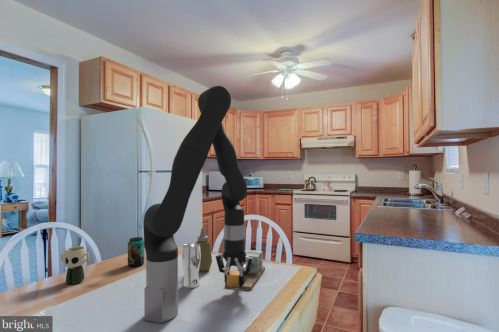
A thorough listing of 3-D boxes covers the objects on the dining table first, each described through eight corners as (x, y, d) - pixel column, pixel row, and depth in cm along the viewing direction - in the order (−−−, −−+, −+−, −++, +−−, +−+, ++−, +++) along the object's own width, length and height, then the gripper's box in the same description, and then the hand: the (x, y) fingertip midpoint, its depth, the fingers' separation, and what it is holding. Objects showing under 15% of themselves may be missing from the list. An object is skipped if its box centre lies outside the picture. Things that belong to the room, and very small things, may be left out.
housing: (250, 290, 103) (250, 268, 103) (224, 287, 106) (224, 265, 106) (265, 269, 124) (265, 251, 124) (243, 267, 127) (243, 249, 127)
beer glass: (196, 289, 104) (196, 248, 104) (178, 288, 105) (178, 247, 105) (203, 282, 111) (203, 243, 111) (186, 280, 112) (186, 242, 112)
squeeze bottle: (210, 273, 120) (210, 230, 120) (191, 273, 120) (191, 230, 120) (213, 266, 128) (213, 226, 128) (195, 266, 128) (195, 226, 128)
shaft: (238, 287, 98) (238, 275, 98) (226, 285, 100) (226, 274, 100) (255, 266, 119) (255, 256, 119) (245, 265, 121) (245, 255, 121)
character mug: (55, 285, 107) (55, 251, 107) (66, 278, 115) (66, 246, 115) (84, 285, 108) (84, 251, 108) (94, 278, 115) (94, 245, 115)
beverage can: (124, 266, 128) (124, 240, 128) (134, 261, 135) (134, 236, 135) (137, 268, 126) (137, 241, 126) (147, 263, 133) (147, 237, 133)
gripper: (211, 238, 99) (211, 287, 99) (250, 240, 95) (251, 292, 95) (219, 233, 107) (220, 279, 107) (256, 235, 103) (256, 283, 102)
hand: (234, 284), depth 101 cm, fingers closed on shaft, 4 cm apart
